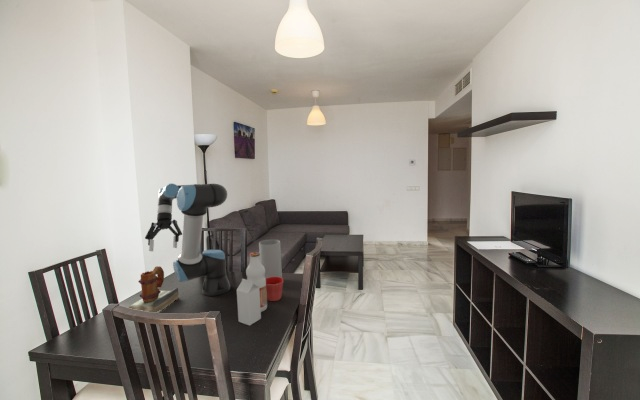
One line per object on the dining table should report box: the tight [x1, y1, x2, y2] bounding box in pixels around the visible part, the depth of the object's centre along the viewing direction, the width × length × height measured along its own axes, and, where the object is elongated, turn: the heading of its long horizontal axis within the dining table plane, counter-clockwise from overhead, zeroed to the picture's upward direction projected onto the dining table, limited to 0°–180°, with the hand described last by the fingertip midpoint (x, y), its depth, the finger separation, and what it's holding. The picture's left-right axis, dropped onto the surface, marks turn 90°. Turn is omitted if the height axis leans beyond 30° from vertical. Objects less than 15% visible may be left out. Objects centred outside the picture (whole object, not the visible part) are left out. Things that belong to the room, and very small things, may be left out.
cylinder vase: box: [258, 239, 283, 279], centre depth 173 cm, size 12×12×25 cm
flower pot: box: [266, 277, 284, 302], centre depth 154 cm, size 11×11×10 cm
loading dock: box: [128, 287, 180, 312], centre depth 149 cm, size 14×18×6 cm
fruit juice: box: [245, 251, 268, 313], centre depth 141 cm, size 9×9×28 cm
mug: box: [138, 265, 165, 302], centre depth 148 cm, size 15×8×15 cm, turn 170°
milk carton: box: [236, 278, 262, 326], centre depth 131 cm, size 7×7×19 cm
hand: (163, 249), depth 164 cm, fingers open, 13 cm apart
